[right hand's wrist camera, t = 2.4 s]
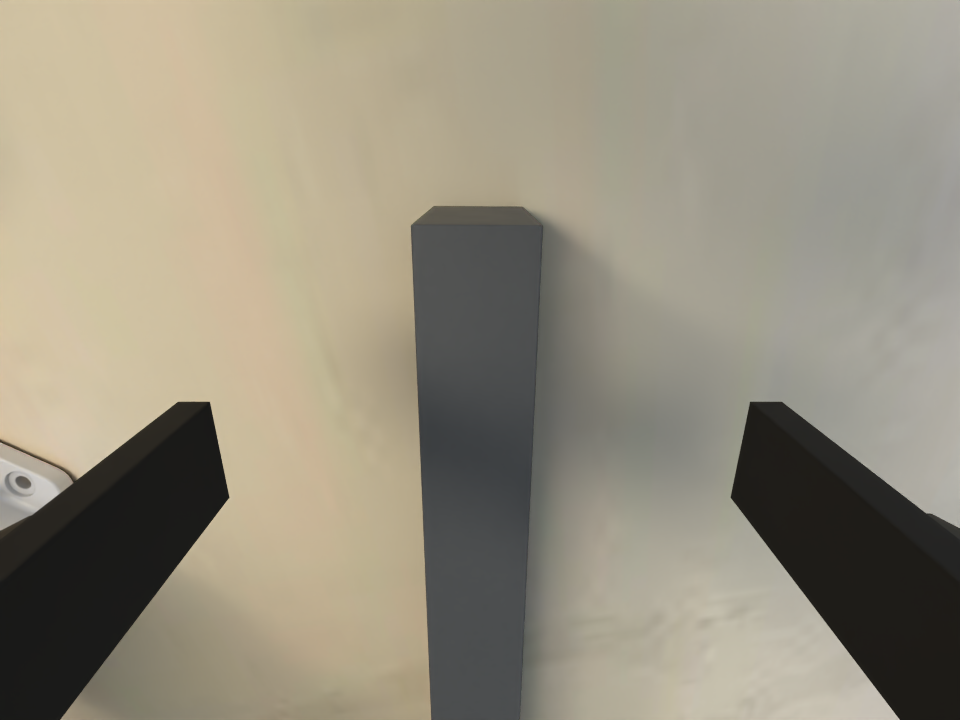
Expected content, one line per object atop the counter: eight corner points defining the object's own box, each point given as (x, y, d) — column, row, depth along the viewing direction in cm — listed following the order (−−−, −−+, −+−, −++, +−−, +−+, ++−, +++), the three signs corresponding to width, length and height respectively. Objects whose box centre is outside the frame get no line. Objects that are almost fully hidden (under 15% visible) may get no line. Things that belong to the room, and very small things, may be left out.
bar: (433, 206, 25) (410, 224, 17) (523, 206, 25) (543, 224, 17) (450, 861, 45) (443, 1015, 36) (501, 862, 45) (505, 1016, 36)
